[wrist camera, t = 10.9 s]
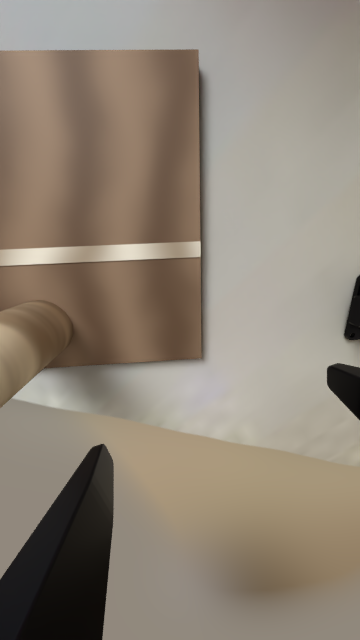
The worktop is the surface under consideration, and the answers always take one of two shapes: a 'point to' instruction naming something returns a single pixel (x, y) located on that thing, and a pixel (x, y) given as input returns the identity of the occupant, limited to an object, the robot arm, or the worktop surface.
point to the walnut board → (104, 198)
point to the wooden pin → (30, 342)
